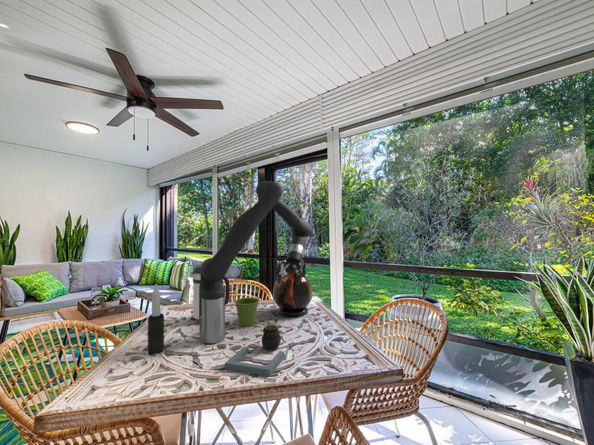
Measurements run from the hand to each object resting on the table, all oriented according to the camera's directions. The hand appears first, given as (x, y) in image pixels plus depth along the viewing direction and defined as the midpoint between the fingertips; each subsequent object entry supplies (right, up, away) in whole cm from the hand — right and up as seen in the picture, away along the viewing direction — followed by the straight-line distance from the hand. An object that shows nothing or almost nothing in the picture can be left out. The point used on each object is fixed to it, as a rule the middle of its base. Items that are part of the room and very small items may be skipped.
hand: (287, 283), depth 126 cm
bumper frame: (-9, -20, -30) cm, 38 cm away
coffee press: (-41, -22, +16) cm, 49 cm away
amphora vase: (+2, -22, +26) cm, 34 cm away
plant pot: (-19, -21, +7) cm, 30 cm away
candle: (-48, -21, -21) cm, 57 cm away
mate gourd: (-6, -21, -19) cm, 29 cm away
